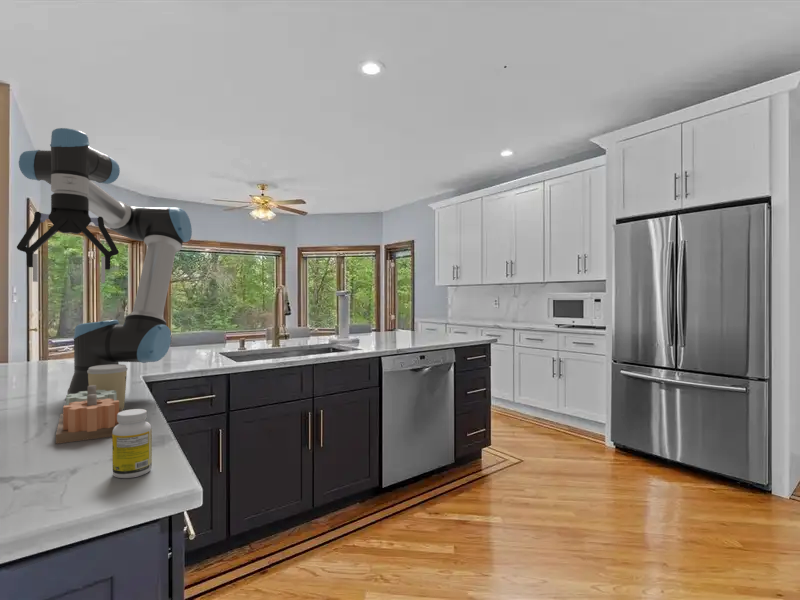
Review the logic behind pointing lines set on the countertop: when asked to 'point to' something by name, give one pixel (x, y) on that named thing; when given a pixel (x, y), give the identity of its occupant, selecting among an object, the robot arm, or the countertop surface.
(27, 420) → the countertop surface
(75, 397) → the gear
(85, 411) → the rust gear
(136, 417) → the pill bottle
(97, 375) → the coffee cup
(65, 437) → the gear board
